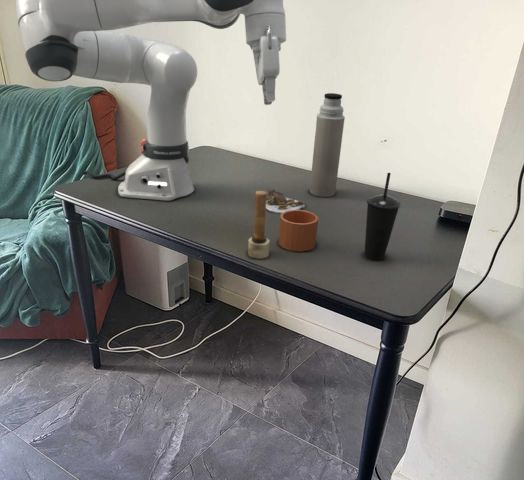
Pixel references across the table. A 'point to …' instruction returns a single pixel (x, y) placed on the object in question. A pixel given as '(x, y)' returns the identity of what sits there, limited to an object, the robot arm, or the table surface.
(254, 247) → the brush
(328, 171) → the thermos bottle
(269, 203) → the frog figurine
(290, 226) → the tumbler
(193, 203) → the table surface
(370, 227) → the drinking cup
